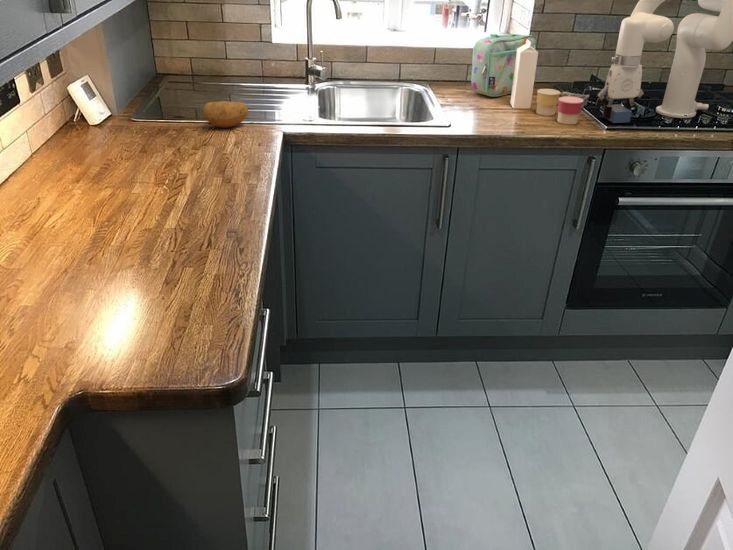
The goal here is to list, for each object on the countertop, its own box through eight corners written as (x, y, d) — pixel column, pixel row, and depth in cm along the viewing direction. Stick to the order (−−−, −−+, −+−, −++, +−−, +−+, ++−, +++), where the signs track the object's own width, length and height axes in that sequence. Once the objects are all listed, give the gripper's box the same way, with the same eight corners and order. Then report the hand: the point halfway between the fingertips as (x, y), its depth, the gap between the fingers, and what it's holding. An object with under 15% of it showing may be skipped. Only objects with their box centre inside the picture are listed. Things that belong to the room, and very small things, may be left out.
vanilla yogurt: (555, 110, 211) (558, 89, 207) (558, 116, 205) (561, 94, 201) (533, 109, 212) (536, 88, 208) (535, 115, 206) (538, 94, 202)
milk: (513, 108, 213) (521, 42, 201) (509, 103, 218) (517, 38, 206) (530, 108, 213) (539, 42, 201) (527, 103, 218) (535, 38, 206)
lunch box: (485, 101, 220) (492, 38, 209) (465, 95, 228) (470, 34, 217) (534, 90, 234) (542, 31, 223) (514, 84, 241) (521, 27, 230)
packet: (617, 115, 203) (620, 104, 202) (629, 122, 197) (631, 111, 195) (602, 115, 203) (604, 105, 201) (613, 123, 196) (615, 112, 194)
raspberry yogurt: (577, 118, 203) (581, 96, 199) (581, 125, 196) (585, 103, 193) (553, 117, 204) (557, 95, 200) (556, 124, 197) (560, 102, 194)
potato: (250, 129, 191) (248, 104, 187) (204, 132, 189) (201, 106, 185) (249, 120, 200) (246, 96, 195) (205, 123, 197) (201, 98, 193)
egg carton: (551, 104, 218) (553, 92, 216) (560, 99, 223) (562, 88, 221) (580, 109, 212) (583, 97, 210) (589, 104, 217) (591, 93, 215)
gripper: (606, 64, 186) (595, 122, 196) (659, 61, 188) (646, 119, 197) (595, 58, 192) (585, 115, 202) (647, 56, 194) (635, 112, 203)
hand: (616, 116), depth 199 cm, fingers closed on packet, 5 cm apart
